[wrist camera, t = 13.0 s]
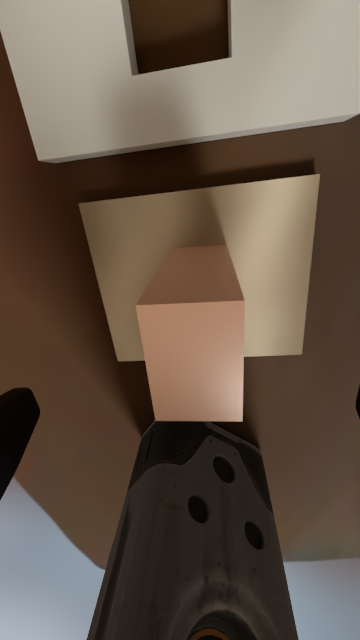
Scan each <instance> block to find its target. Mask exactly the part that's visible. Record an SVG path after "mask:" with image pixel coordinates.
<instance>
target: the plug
mask: <svg viewBox="0 0 360 640" xmlns="http://www.w3.org/2000/svg"><path fill="white" fill-rule="evenodd" d="M136 311H137V317H138V323H139V328H140V334H141V340H142V346H143V352H144V357H145V363H146V369H147V375H148V381H149V386H150V392H151V398H152V404H153V410H154V415H155V421H227V422H243V372H244V316H245V300H244V297H243V293H242V290H241V287H240V284H239V281H238V278H237V275H236V272H235V269H234V266H233V262H232V259H231V256H230V253H229V250H228V247H227V244H225V245H211V246H197V247H183V248H171V249H170V251H169V252H168V254H167V256H166V257H165V259H164V260H163V262H162V264H161V265H160V267H159V269H158V270H157V272H156V273H155V275H154V277H153V278H152V280H151V281H150V283H149V285H148V286H147V288H146V289H145V291H144V293H143V294H142V296H141V297H140V299H139V301H138V302H137V304H136Z"/></svg>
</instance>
